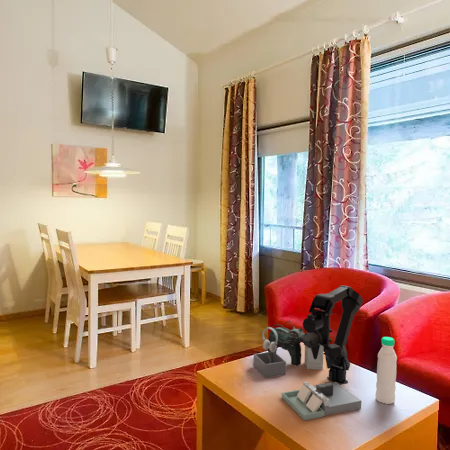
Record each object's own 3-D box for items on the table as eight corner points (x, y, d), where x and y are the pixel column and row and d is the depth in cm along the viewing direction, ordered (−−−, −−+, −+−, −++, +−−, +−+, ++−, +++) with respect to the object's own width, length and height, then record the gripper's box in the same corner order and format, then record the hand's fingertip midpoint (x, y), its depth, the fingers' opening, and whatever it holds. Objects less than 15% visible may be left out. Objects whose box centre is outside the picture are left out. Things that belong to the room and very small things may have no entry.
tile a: (304, 385, 160) (302, 384, 159) (311, 391, 155) (309, 390, 155) (298, 397, 159) (296, 396, 159) (305, 403, 154) (303, 402, 154)
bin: (300, 394, 162) (300, 389, 162) (324, 416, 146) (324, 411, 146) (281, 397, 159) (281, 392, 159) (304, 420, 143) (304, 415, 143)
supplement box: (323, 369, 185) (324, 343, 184) (307, 369, 185) (307, 342, 184) (319, 363, 192) (320, 337, 191) (304, 362, 193) (304, 336, 192)
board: (335, 388, 167) (336, 381, 167) (361, 408, 152) (361, 400, 152) (302, 394, 162) (302, 387, 162) (324, 415, 147) (325, 407, 147)
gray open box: (273, 363, 191) (273, 351, 190) (285, 374, 179) (285, 361, 179) (253, 366, 187) (253, 354, 187) (264, 378, 176) (265, 364, 175)
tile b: (315, 395, 153) (313, 393, 152) (322, 401, 148) (320, 400, 148) (307, 406, 152) (305, 405, 152) (315, 413, 147) (313, 412, 147)
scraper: (320, 385, 164) (320, 375, 163) (342, 403, 150) (343, 392, 149) (302, 388, 161) (303, 378, 161) (324, 407, 147) (325, 396, 147)
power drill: (305, 365, 190) (306, 323, 188) (297, 369, 185) (298, 326, 184) (272, 352, 204) (273, 314, 203) (264, 356, 200) (265, 316, 198)
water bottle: (393, 406, 154) (396, 343, 152) (373, 401, 157) (376, 339, 155) (396, 398, 160) (399, 337, 158) (377, 393, 163) (380, 333, 161)
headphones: (259, 369, 185) (260, 326, 183) (264, 366, 188) (265, 324, 186) (273, 374, 179) (274, 331, 177) (279, 372, 182) (280, 329, 180)
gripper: (293, 321, 168) (292, 357, 169) (318, 336, 151) (317, 377, 152) (316, 318, 172) (315, 353, 173) (343, 333, 155) (342, 372, 156)
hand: (321, 363), depth 164 cm, fingers open, 9 cm apart
